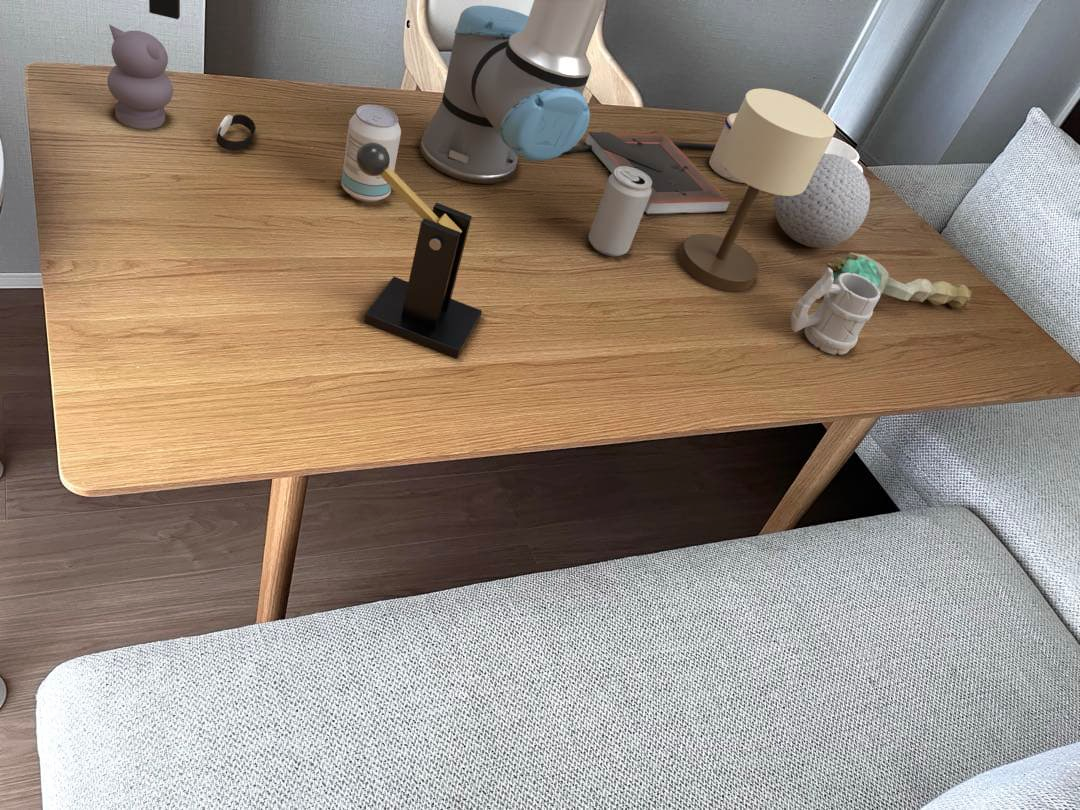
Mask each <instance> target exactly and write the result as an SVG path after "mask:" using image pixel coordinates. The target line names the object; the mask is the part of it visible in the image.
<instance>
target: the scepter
mask: <svg viewBox="0 0 1080 810" xmlns="http://www.w3.org/2000/svg"><path fill="white" fill-rule="evenodd" d="M828 267H829V268H830V269H832V271H833V277H834V282H835V281H836V279H837V278H838V276H839V275H840V274H842V273H851V274H852V273H855V274H858V275H860V276H862V277H864V278H866V279H868V280H870V281H871V282H872V283H873V284H874V285H875V286H876V287H877V289H878V291H879V292H880V296H887V297H893V298H896V299H898V300H902V301H906V302H907V301H909V300H910V301H912V302H919V303H924V302H925V300H927V301H929V302H930V303H931V304H932V305H934V306H941V305H944V304H948V305H949V306H950V307H951V308H961V307H962V306H964V305H966V304H967V303H968V302H969V301H971V297H972V292H973V291H972V290H971V289H970V288H968V287H967V286H966V285H965V284H961V283H954V284H951V283H950V282H947V281H944V280H941V281H940V280H939V281H934V282H931V281H930V280H929V279H927V278H920V277H919V278H917V279H915V280H912V281H908V282H906V283H902V282H900V281H898V280H896V279H894V278H892V277H890V275H889V271H888V270H887V269H886V268H885V267H884V266H883V265H882V264H881V263H879V262H878V261H876V260H874V259H873V258H871V257H869V256H867V255H865V254H859V253H855V252H848V253H847V254H846V257H845V259H844V258H842V257H838V256H836V257H835V258H834V260H833V262H828V263H827V268H828ZM834 282H833V284H834Z"/></svg>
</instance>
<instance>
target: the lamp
mask: <svg viewBox="0 0 1080 810" xmlns="http://www.w3.org/2000/svg"><path fill="white" fill-rule="evenodd" d="M737 113H738V114H737V116H736V118H735V120H734V123H733V125H732V127H731V129H730V132H729V134H728V136H727V139H726V141H725V143H724V145H723V148H722V150H721V152H720V160H721V162H722V164H723V165H724V167H725V168H726V169H727V170H728V171H729V172H730V173H731V174H732V175H734V176H735V177H736V178H738V179H739V180H741V181H742V182H744V183H743V184H746V185H748V187H747V189H746V192H745V193H744V196H743V198H742V200H741V201H740V204H739V206H738V208H737V210H736V213H735V215H734V217H733V219H732V220H731V223H730V225H729V227H728V229H727V231H726V234H725V235H724V237H722V236H720V235H719V236H718V235H716V234H710V233H695V234H692V235H690V236H688V237H686V239H685V240H684V241H683V244H682V247H681V249H680V251H679V262H680V264H681V265H682V267H683V268H684V270H685V271H686V272H687V273H688V274H689V275H691V276H692V277H693V278H694V279H696V280H698V281H699V282H701V283H702V284H704V285H706V286H708V287H711V288H713V289H717V290H720V291H725V292H732V293H733V292H742V291H746V290H747V289H749V288H750V287H751V286H752V285H753V283H754V281H755V279H756V277H757V276H758V273H759V266H758V263H757V261H756V259H755V258H754V257H753V255H751V253H750V252H748V251H747V250H746V249H745V248H744V247H743V246H741V245H739V244H738V243H736V240H737V237H738V235H739V234H740V231H741V229H742V227H743V225H744V223H745V221H746V219H747V217H748V215H749V213H750V211H751V208H752V206H753V204H754V203H755V200H756V198H757V196H758V194H759V192H760V191H763V192H765V193H768V194H772V195H775V194H776V195H782V196H794V195H799V194H801V193H802V192H804V190H805V189H806V187H807V185H808V183H809V181H810V179H811V177H812V175H813V174H814V172H815V170H816V168H817V166H818V164H819V162H820V160H821V158H822V156H823V154H824V153H825V151H826V149H827V147H828V145H829V143H830V141H831V139H832V137H833V138H834V135H835V133H836V131H837V129H836V125H835V123H834V121H833V120H832V119H831V118H830V117H829V115H828V114H826V113H825V112H824V111H823V110H822V109H820V108H819V107H817V106H816V105H814V104H812V103H810V102H808V101H807V100H805V99H803V98H801V97H798V96H796V95H793V94H790V93H787V92H784V91H781V90H776V89H772V88H762V87H761V88H759V87H758V88H753V89H750V90H748V91H747V92H746V94H745V96H744V98H743V100H742V102H741V105H740V106H739V109H738V111H737Z"/></svg>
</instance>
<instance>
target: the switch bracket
mask: <svg viewBox="0 0 1080 810" xmlns="http://www.w3.org/2000/svg"><path fill="white" fill-rule="evenodd" d="M431 211H432V212H433V213H434V214H435V215H436V216H437V217H438V218H440V217H441V216H443V215H444V214H446V215H447V216H448V217H449V218H450V219H451V220H452V221H453V222H454V223H455V224H456V225H457V226H458V227H459V228H460V229H461V230H462V232H458V231H456V230H453V229H451V228H448V227H446V226H443V225H440V224H438V223H435V222H433V221H430V220H427V219H425V218H424V219H422V220H421V222H420V226H419V231H418V235H417V236H418V237H417V239H416V245H415V250H414V255H413V259H412V264H411V269H410V274H409V278H408V280H404V279H402V278H399V277H397V276H393V277H392V278H391V279H390V280H389V282H388V283H387V284H386V286H385V287H384V288H383V290H382V292H380V294H379V295H378V297H377V298H376V299H375V300H374V301H373V303H372V304H371V306H370V307H369V308H368V310H367V311H366V312H365V315H364V319H363V323H365V324H368V325H370V326H373V327H376V328H378V329H381V330H383V331H386V332H389V333H391V334H394V335H396V336H399V337H401V338H403V339H406V340H408V341H411V342H414V343H416V344H419V345H422V346H425V347H426V348H429V349H432V350H434V351H437V352H440V353H442V354H445V355H448V356H449V357H452V358H455V359H458V358H459V356H460V354H461V353H462V351H463V349H464V347H465V345H466V344H467V342H468V340H469V338H470V337H471V335H472V334H473V332H474V330H475V328H476V326H477V324H478V323H479V321H480V319H481V317H482V313H483V310H481V309H479V308H476V307H474V306H471V305H468V304H466V303H464V302H461V301H458V300H455V299H453V298H452V297H453V294H454V289H455V285H456V281H457V279H458V273H459V269H460V265H461V261H462V258H463V254H464V249H465V246H466V241H467V238H468V233H469V230H470V226H471V221H472V218H473V216H472V215H470V214H467V213H465V212H462V211H460V210H458V209H454V208H453V207H449V206H447V205H444V204H441V203H439V202H435V204H434V205H433V207H432V210H431Z"/></svg>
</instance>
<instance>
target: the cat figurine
mask: <svg viewBox="0 0 1080 810" xmlns="http://www.w3.org/2000/svg"><path fill="white" fill-rule="evenodd" d="M108 25H109V26H108V27H109V30H110V33H111V35H112V38H113V42H112V45H111V50H110V51H111V56H112V59H113V62H114V63H115V66H113V67H112V68H111V70H110V71H109V73H108V75H107V79H106V80H107V81H106V82H107V87H108V90H109V92H110V94H111V95H112V97H113V98H114V99H115V100H116V103H115V105H114V111H115V112H114V113H115V118H116V120H118V122H119V123H121V124H123V125H124V126H127V127H129V128H134V129H139V130H140V129H141V130H150V129H151V130H152V129H155V128H158V127H161V126H162V125H164V124H165V122H166V110H165V107H166V106H167V105H169V104H170V103H171V101H172V99H173V98H172V97H173V96H174V87H173V84H172V81H171V79H170V77H169V76H168V75H167V73H165V71H166V69H167V66H168V64H169V56H168V53H167V50H166V48H165V46H164V44H163V43H162V42H161V41H160V40H159V39H157V38H156V37H155V36H154V35H152V34H150V33H148V32H145V31H141V30H128V31H123V30H121V29H119V28H117V27H116V26H113V25H112V24H108Z"/></svg>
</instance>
